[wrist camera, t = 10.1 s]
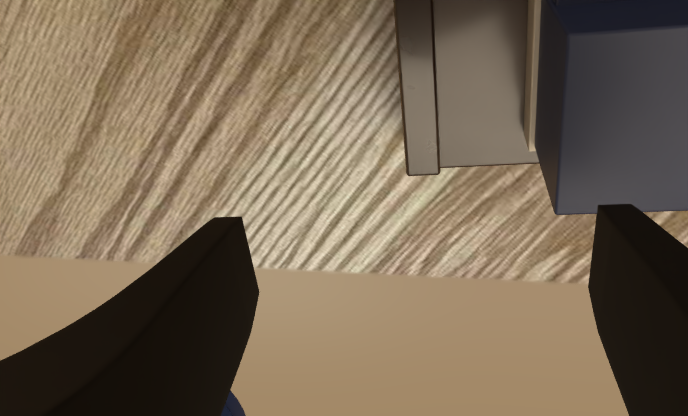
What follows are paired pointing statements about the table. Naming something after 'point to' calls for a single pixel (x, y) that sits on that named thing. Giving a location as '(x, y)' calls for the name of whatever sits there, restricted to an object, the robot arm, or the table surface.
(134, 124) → the table surface
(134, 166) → the table surface
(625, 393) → the robot arm
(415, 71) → the brown open-sided tray
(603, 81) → the dark stepped block
